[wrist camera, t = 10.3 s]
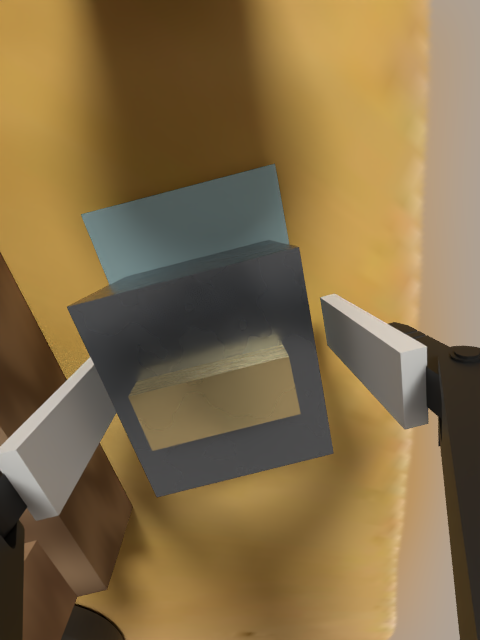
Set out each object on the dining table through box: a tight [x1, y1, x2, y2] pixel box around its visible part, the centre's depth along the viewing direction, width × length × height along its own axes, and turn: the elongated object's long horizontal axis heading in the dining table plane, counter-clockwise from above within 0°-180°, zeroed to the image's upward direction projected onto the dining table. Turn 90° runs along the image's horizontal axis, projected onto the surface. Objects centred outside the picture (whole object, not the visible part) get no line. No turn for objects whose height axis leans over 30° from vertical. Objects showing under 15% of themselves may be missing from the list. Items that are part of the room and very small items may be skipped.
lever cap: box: [67, 240, 333, 497], centre depth 13 cm, size 9×8×7 cm
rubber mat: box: [81, 164, 289, 285], centre depth 17 cm, size 16×10×1 cm, turn 14°
